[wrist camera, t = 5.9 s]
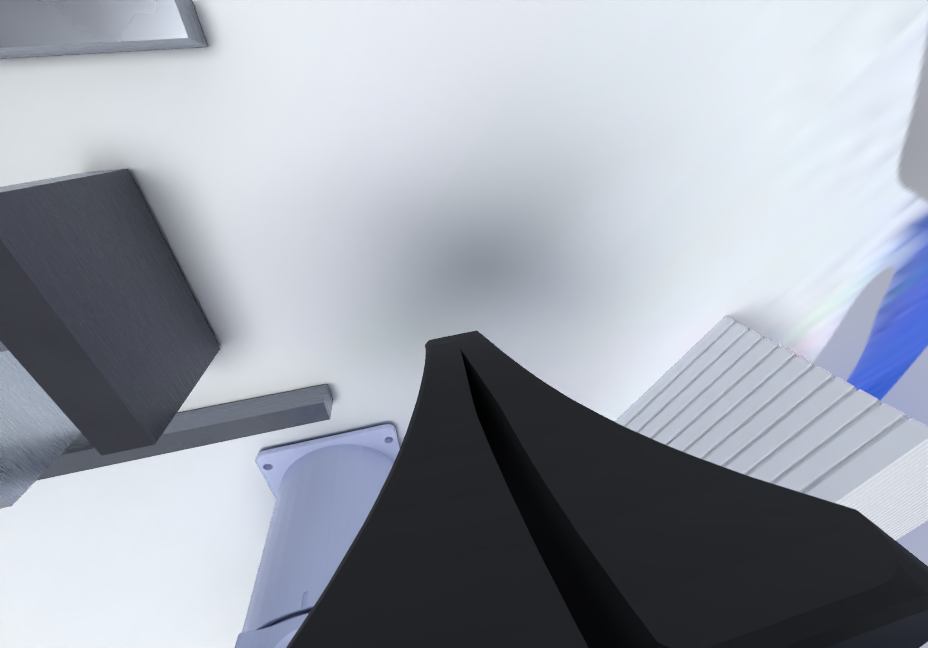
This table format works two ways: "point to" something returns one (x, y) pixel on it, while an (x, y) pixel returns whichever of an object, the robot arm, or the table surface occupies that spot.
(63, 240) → the vise jaw
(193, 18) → the vise
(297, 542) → the robot arm
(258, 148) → the table surface
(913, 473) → the white ridged block
